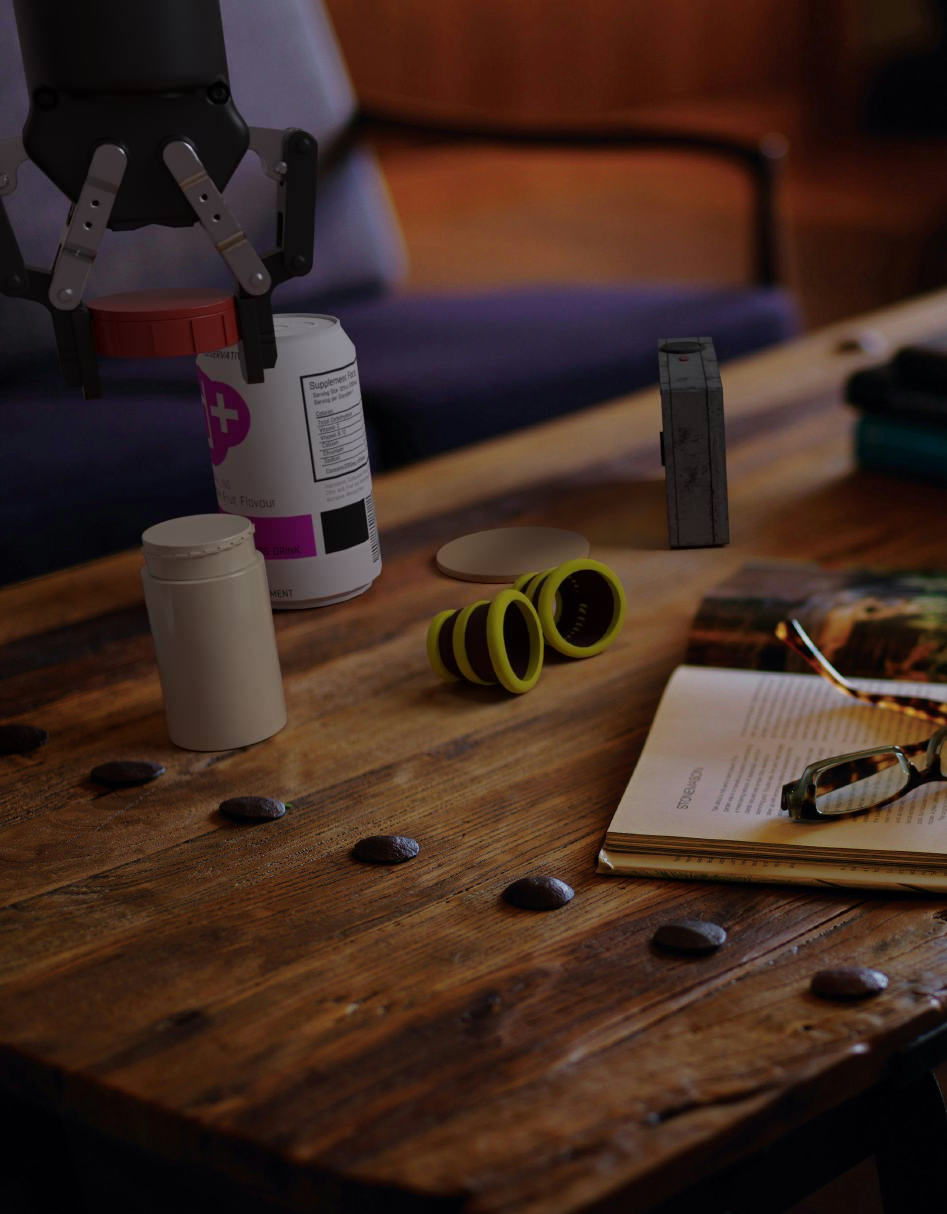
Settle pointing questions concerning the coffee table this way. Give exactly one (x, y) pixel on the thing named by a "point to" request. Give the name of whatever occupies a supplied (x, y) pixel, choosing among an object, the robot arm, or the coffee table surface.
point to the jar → (212, 632)
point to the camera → (693, 442)
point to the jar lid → (164, 322)
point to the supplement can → (297, 461)
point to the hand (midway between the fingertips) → (175, 386)
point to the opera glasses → (529, 626)
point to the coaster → (510, 553)
